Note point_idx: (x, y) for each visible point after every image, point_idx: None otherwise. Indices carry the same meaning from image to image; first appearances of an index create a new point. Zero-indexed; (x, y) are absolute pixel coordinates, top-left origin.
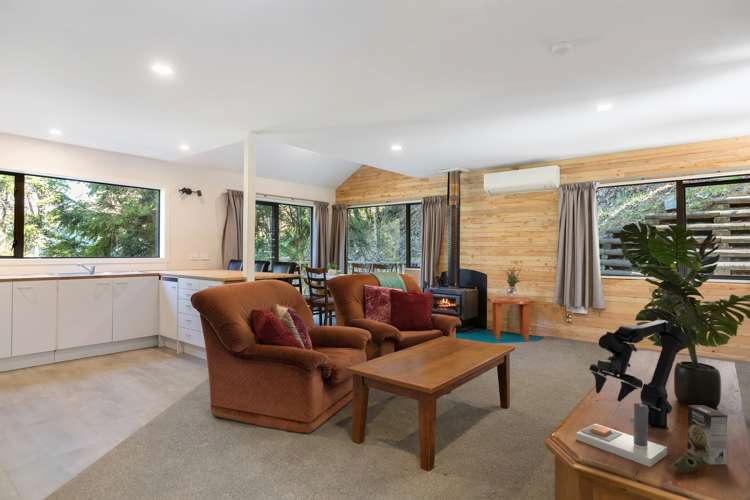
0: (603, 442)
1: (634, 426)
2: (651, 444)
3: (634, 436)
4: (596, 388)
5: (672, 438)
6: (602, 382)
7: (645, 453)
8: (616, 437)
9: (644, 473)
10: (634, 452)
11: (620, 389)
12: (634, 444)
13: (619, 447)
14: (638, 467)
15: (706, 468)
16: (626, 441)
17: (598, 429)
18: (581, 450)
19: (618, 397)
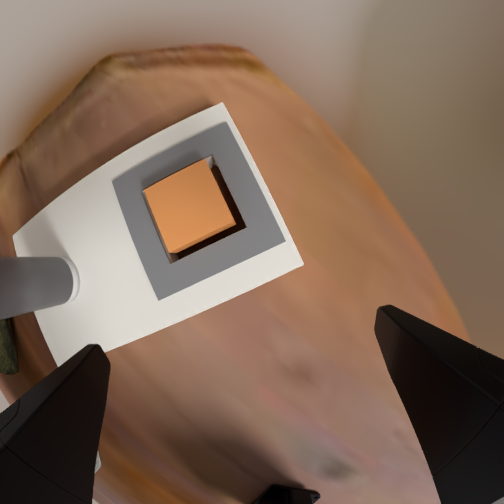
0: (117, 157)
1: (13, 258)
2: (74, 338)
3: (42, 257)
4: (417, 324)
5: (179, 475)
6: (443, 449)
7: (31, 252)
8: (137, 247)
9: (17, 194)
10: (40, 218)
11: (20, 421)
12: (61, 257)
13: (72, 190)
14: (33, 200)
15: (24, 378)
16: (101, 262)
17: (184, 186)
18: (148, 91)
19: (74, 360)
